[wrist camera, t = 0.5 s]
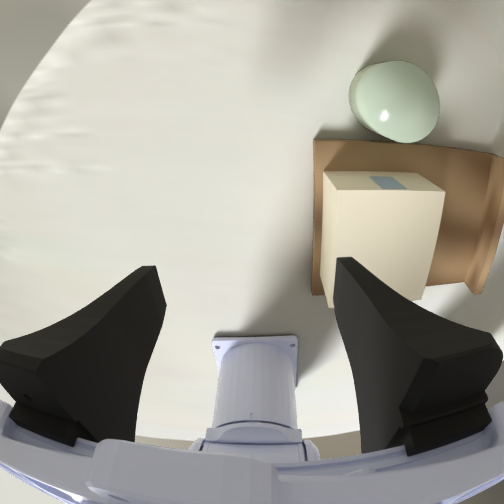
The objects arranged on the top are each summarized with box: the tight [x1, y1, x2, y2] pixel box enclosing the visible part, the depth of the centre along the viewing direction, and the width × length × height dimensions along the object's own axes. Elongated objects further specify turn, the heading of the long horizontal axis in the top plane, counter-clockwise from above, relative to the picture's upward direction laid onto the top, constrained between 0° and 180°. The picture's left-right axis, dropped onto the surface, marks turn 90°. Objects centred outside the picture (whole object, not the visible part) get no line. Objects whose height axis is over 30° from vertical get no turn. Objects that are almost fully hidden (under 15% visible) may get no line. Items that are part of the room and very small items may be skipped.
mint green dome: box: [349, 61, 440, 143], centre depth 15 cm, size 5×5×4 cm
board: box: [311, 140, 504, 295], centre depth 20 cm, size 12×16×3 cm
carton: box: [320, 171, 445, 308], centre depth 19 cm, size 8×7×4 cm
